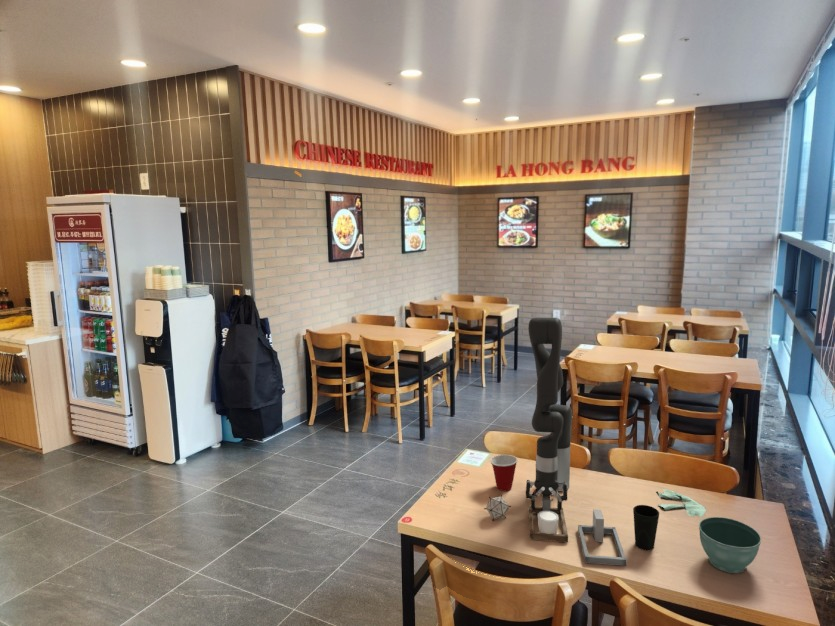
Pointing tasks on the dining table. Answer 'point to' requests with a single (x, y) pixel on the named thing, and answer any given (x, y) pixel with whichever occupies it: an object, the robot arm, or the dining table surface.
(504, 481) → the plastic cup
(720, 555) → the green bowl
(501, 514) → the game die
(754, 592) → the dining table surface
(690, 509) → the cloth
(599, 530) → the grey hollow rectangular frame
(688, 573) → the dining table surface
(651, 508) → the cup
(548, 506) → the wooden picture frame
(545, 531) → the white cylinder
